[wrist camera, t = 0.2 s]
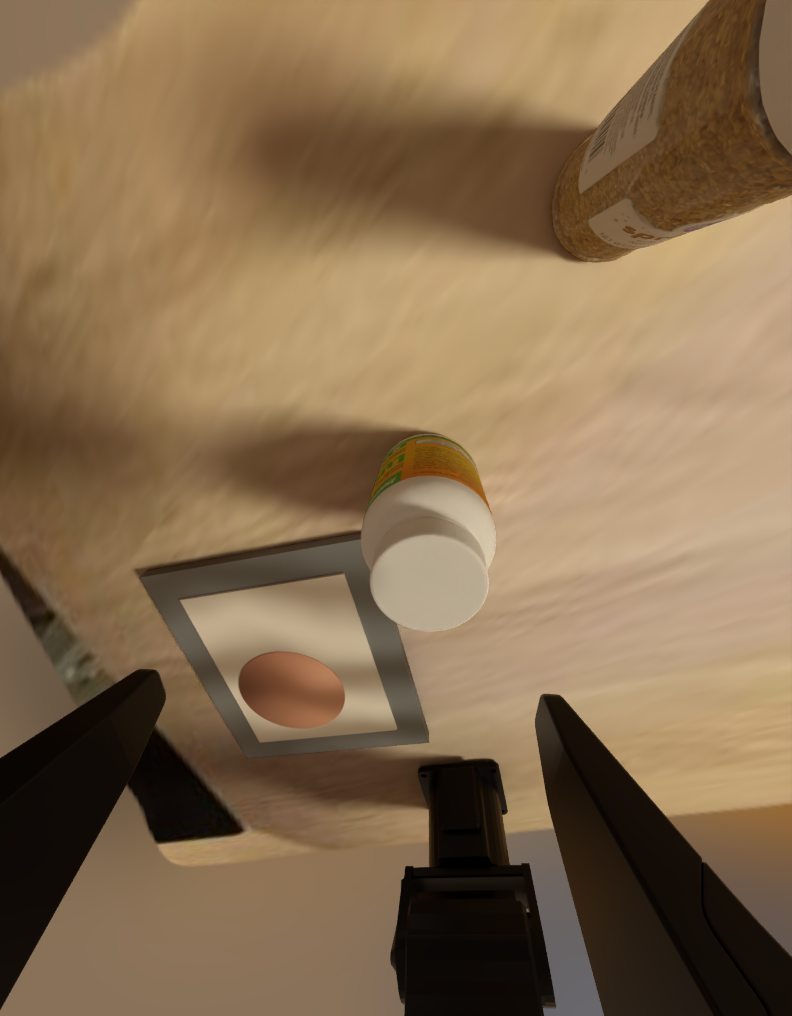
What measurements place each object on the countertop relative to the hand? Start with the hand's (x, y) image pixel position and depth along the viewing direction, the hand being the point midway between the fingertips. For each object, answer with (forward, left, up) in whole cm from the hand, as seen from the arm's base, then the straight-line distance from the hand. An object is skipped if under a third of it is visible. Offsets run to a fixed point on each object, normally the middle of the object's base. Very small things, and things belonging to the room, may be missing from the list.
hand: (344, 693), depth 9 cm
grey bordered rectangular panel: (-12, +10, -14) cm, 21 cm away
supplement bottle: (-1, -2, -14) cm, 14 cm away
